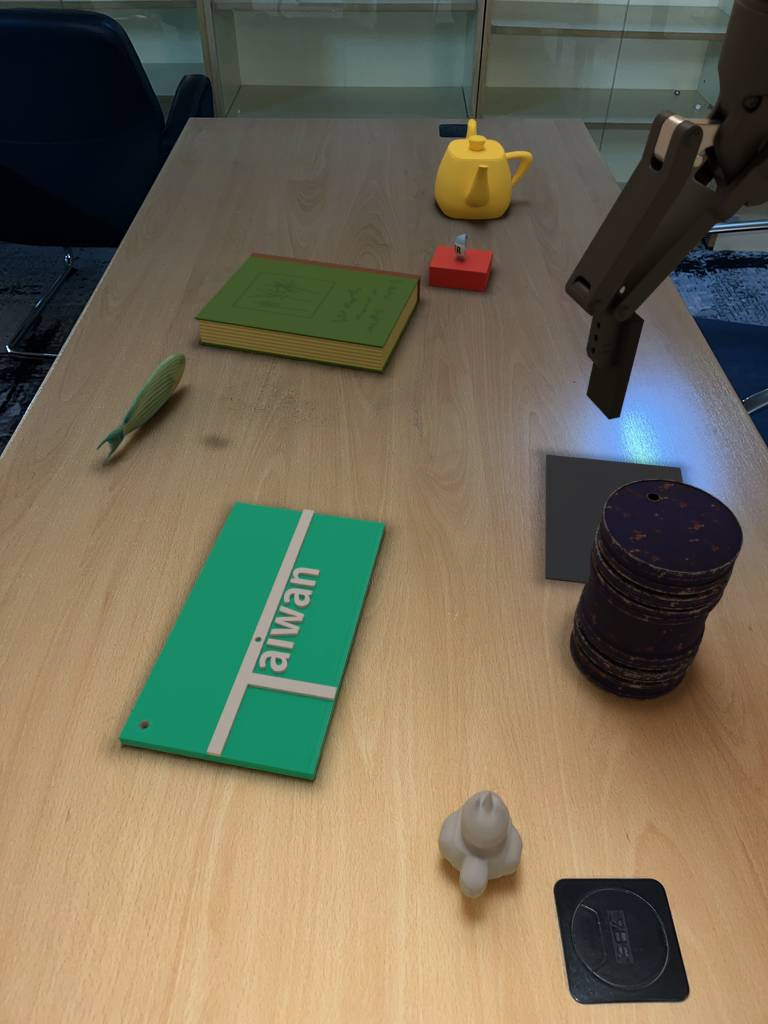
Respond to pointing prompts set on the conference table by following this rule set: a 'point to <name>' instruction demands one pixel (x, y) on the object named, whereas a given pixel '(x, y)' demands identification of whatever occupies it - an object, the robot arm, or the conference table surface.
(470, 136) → the teapot
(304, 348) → the book
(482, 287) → the red rectangular block
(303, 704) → the sign
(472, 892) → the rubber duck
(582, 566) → the mat
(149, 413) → the decorative fish
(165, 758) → the conference table surface
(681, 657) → the rusty barrel
